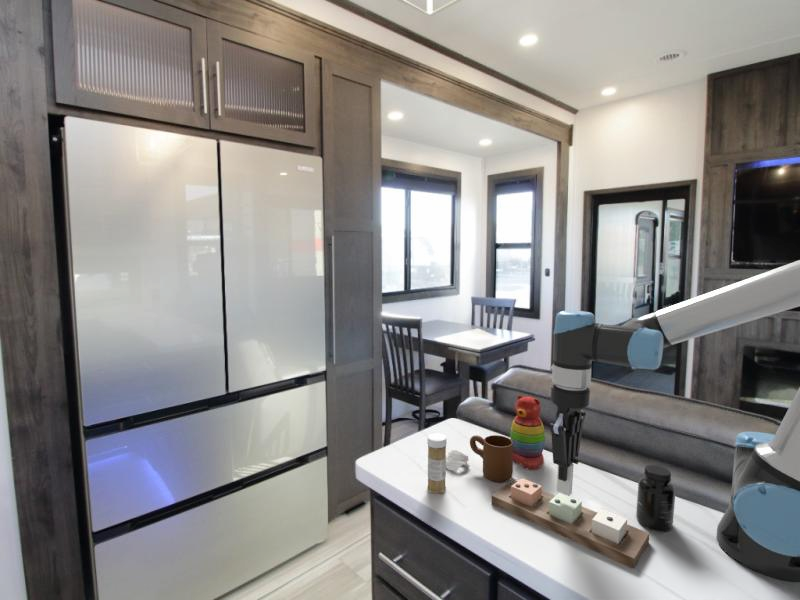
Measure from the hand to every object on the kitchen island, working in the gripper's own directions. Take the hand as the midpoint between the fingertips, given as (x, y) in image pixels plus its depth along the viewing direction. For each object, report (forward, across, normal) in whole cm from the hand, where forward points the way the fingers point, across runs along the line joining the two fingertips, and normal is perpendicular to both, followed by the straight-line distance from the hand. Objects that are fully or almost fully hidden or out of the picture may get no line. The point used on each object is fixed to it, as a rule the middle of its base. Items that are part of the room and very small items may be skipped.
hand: (564, 492), depth 93 cm
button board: (+7, 0, 0) cm, 7 cm away
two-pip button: (+5, 0, 0) cm, 5 cm away
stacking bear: (+7, -21, -20) cm, 30 cm away
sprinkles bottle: (+7, +9, -28) cm, 30 cm away
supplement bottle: (+7, -13, +14) cm, 20 cm away
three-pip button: (+5, 0, -9) cm, 10 cm away
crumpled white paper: (+7, -4, -32) cm, 33 cm away
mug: (+7, -7, -23) cm, 25 cm away
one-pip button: (+5, 0, +9) cm, 11 cm away
